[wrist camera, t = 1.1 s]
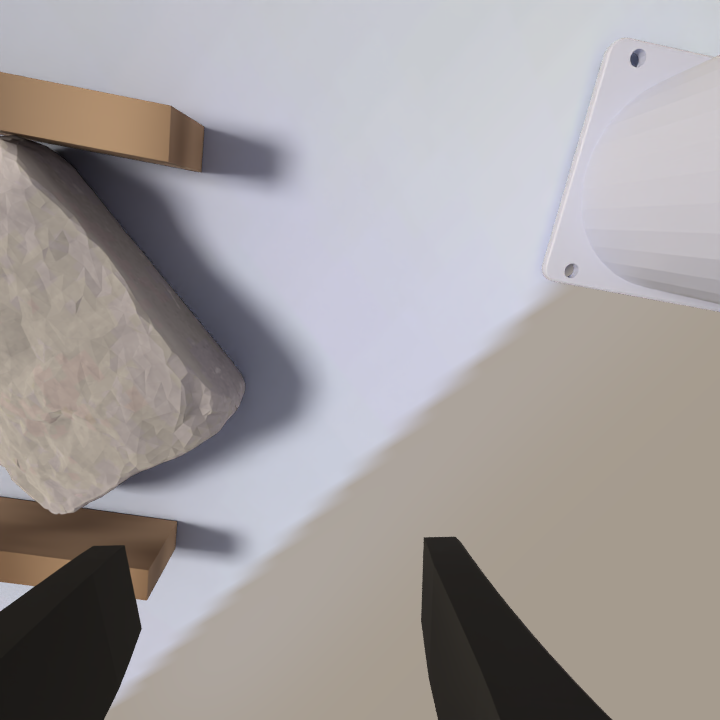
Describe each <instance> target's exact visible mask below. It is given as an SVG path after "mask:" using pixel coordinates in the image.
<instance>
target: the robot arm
mask: <svg viewBox="0 0 720 720" xmlns="http://www.w3.org/2000/svg"><path fill="white" fill-rule="evenodd" d="M632 53H635V54H636V55H637V56H638V58H639V64H638V66H637V67H634V66H632V64H631V62H630V56H631V54H632ZM569 264H572V265H573V267H574V270H573V273H572V274H571V275H570V276H567V277H566V275H565V268H566V266H568V265H569ZM542 273H543V276H544V277H545V278H546V279H548V280H551V281H554V282H559V283H565V284H570V285H576V286H582V287H587V288H592V289H598V290H603V291H608V292H614V293H619V294H625V295H630V296H636V297H641V298H647V299H652V300H658V301H663V302H668V303H674V304H679V305H685V306H690V307H696V308H701V309H707V310H712V311H717V312H720V55H719V56H716V57H712V56H707V55H703V54H698V53H694V52H689V51H685V50H681V49H676V48H672V47H667V46H663V45H658V44H654V43H649V42H645V41H640V40H636V39H631V38H621V39H619V40H617V41H615V42H614V43H612V44H611V45H610V46H609V47H608V48H607V49H606V51H605V54H604V56H603V59H602V63H601V66H600V70H599V73H598V76H597V80H596V83H595V87H594V90H593V93H592V97H591V100H590V104H589V107H588V110H587V114H586V117H585V121H584V124H583V128H582V131H581V134H580V138H579V141H578V145H577V148H576V151H575V155H574V158H573V162H572V165H571V169H570V172H569V175H568V179H567V182H566V186H565V189H564V192H563V196H562V199H561V203H560V206H559V209H558V213H557V216H556V220H555V223H554V227H553V230H552V233H551V237H550V240H549V244H548V247H547V250H546V254H545V257H544V261H543V264H542ZM421 622H422V630H423V638H424V646H425V653H426V660H427V668H428V675H429V681H430V685H431V690H432V694H433V699H434V703H435V708H436V712H437V716H438V720H612V719H611V718H610V717H609V716H608V715H607V714H606V713H605V712H604V711H603V710H602V709H601V708H600V707H599V706H598V705H597V704H596V703H595V702H594V701H593V700H592V699H591V698H590V697H589V696H588V695H587V694H586V693H585V692H584V690H583V689H582V688H581V687H580V686H579V685H578V684H577V683H576V682H575V681H574V680H573V679H572V678H571V677H570V676H569V675H568V673H567V672H566V671H565V670H564V669H563V668H562V667H561V666H560V665H559V664H558V663H557V661H556V660H555V659H554V658H553V657H552V656H551V655H550V654H549V653H548V651H547V650H546V649H545V648H544V647H543V646H542V645H541V644H540V642H539V641H538V640H537V639H536V638H535V637H534V636H533V634H532V633H531V632H530V631H529V630H528V628H527V627H526V626H525V625H524V624H523V622H522V621H521V620H520V619H519V618H518V616H517V615H516V614H515V613H514V612H513V610H512V609H511V608H510V607H509V606H508V604H507V603H506V602H505V601H504V599H503V598H502V597H501V596H500V594H499V593H498V592H497V591H496V589H495V588H494V587H493V585H492V584H491V583H490V582H489V580H488V579H487V578H486V576H485V575H484V574H483V572H482V571H481V570H480V568H479V567H478V566H477V564H476V563H475V561H474V560H473V559H472V557H471V556H470V555H469V553H468V552H467V550H466V549H465V548H464V546H463V545H462V543H461V542H460V541H459V540H458V539H457V538H456V537H428V538H424V551H423V582H422V613H421ZM141 629H142V628H141V623H140V618H139V613H138V608H137V603H136V598H135V593H134V589H133V584H132V579H131V574H130V569H129V564H128V559H127V554H126V549H125V545H109V546H92V547H91V548H89V549H87V550H86V551H84V552H83V553H81V554H80V555H78V556H77V557H75V558H74V559H73V560H71V561H70V562H68V563H67V564H65V565H64V566H63V567H61V568H60V569H58V570H57V571H56V572H54V573H53V574H51V575H50V576H49V577H47V578H46V579H45V580H43V581H42V582H40V583H39V584H38V585H36V586H35V587H33V588H32V589H31V590H29V591H28V592H27V593H25V594H24V595H22V596H21V597H20V598H18V599H17V600H16V601H14V602H13V603H11V604H10V605H9V606H7V607H6V608H4V609H3V610H2V611H0V720H104V718H105V716H106V714H107V712H108V710H109V708H110V706H111V704H112V702H113V700H114V698H115V696H116V694H117V692H118V690H119V687H120V685H121V682H122V680H123V677H124V675H125V672H126V670H127V667H128V664H129V662H130V659H131V656H132V654H133V651H134V648H135V645H136V643H137V640H138V637H139V634H140V632H141Z"/></svg>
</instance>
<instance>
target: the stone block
mask: <svg viewBox="0 0 720 720" xmlns="http://www.w3.org/2000/svg"><path fill="white" fill-rule="evenodd" d="M244 392H245V382H244V379H243V377H242V375H241V373H240V372H239V370H238V369H237V368H236V367H235V365H234V364H233V362H232V361H231V360H230V358H229V357H228V356H227V355H226V354H225V352H224V351H223V350H222V349H221V348H220V346H219V345H218V344H217V343H216V341H215V340H214V339H213V338H212V337H211V335H210V334H209V333H208V332H207V331H206V330H205V328H204V327H203V326H202V325H201V323H200V322H199V321H198V320H197V319H196V317H195V316H194V315H193V314H192V312H191V311H190V310H189V309H188V308H187V306H186V305H185V304H184V303H183V301H182V300H181V299H180V298H179V296H178V295H177V294H176V293H175V292H174V290H173V289H172V288H171V287H170V285H169V284H168V283H167V282H166V281H165V280H164V279H163V277H162V276H161V275H160V274H159V272H158V271H157V270H156V269H155V267H154V266H153V265H152V264H151V262H150V261H149V260H148V258H147V257H146V256H145V255H144V253H143V252H142V251H141V250H140V249H139V247H138V246H137V245H136V244H135V243H134V241H133V240H132V239H131V238H130V237H129V236H128V235H127V234H126V233H125V232H124V230H123V229H122V227H121V226H120V224H119V223H118V222H117V220H116V219H115V218H114V217H113V216H112V214H111V213H110V212H109V211H108V209H107V208H106V207H105V206H104V204H103V203H102V202H101V200H100V199H99V198H98V197H97V196H96V194H95V193H94V192H93V190H92V189H91V188H90V187H89V186H88V185H87V184H86V182H85V181H84V180H83V179H82V177H81V176H80V175H79V173H78V172H77V171H76V170H75V169H74V168H73V167H72V166H71V165H70V164H69V163H68V162H67V161H66V160H64V159H63V158H62V157H61V156H59V155H58V154H56V153H55V152H54V151H53V150H51V149H50V148H49V147H47V146H44V145H42V144H39V143H36V142H34V141H31V140H28V139H25V138H22V137H19V136H15V135H9V136H0V465H1V466H3V467H5V468H6V470H7V471H8V473H9V474H10V476H11V479H12V480H13V481H14V482H15V483H16V484H17V485H18V486H19V487H20V488H21V489H22V490H24V491H25V492H26V493H27V494H28V495H29V496H30V497H31V498H33V499H34V500H35V501H37V502H38V503H39V504H41V506H42V507H43V508H45V509H48V510H49V511H50V512H51V513H53V514H58V513H60V514H66V513H73V512H76V511H77V510H79V509H80V508H82V507H84V506H85V505H87V504H88V503H90V502H92V501H95V500H97V499H99V498H101V497H103V496H104V495H105V494H107V493H109V492H110V491H111V490H113V489H114V488H116V487H117V486H118V485H119V484H120V483H122V482H124V481H125V480H127V479H128V478H130V477H131V476H133V475H135V474H138V473H139V472H141V471H144V470H147V469H150V468H152V467H154V466H156V465H159V464H161V463H163V462H166V461H169V460H172V459H175V458H177V457H179V456H182V455H183V454H185V453H187V452H188V451H190V450H192V449H194V448H196V447H197V446H198V445H200V444H201V443H203V442H204V441H206V440H207V439H209V438H211V437H212V436H214V435H215V434H217V433H218V432H219V431H220V430H221V428H222V427H223V426H224V424H225V423H226V421H227V420H228V419H229V418H230V417H231V416H232V415H233V414H234V413H235V411H236V410H237V408H238V407H239V405H240V403H241V399H242V397H243V395H244Z"/></svg>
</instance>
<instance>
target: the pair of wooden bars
mask: <svg viewBox="0 0 720 720" xmlns="http://www.w3.org/2000/svg"><path fill="white" fill-rule="evenodd" d="M0 134H2V135H7V136H9V135H15V136H19V137H22V138H25V139H28V140H33V141H38V142H44V143H49V144H54V145H60V146H65V147H70V148H75V149H81V150H86V151H91V152H96V153H102V154H107V155H112V156H118V157H123V158H128V159H133V160H139V161H144V162H149V163H154V164H160V165H165V166H170V167H175V168H181V169H186V170H191V171H197V172H201V168H202V154H203V139H204V126H202V125H201V124H199V123H197V122H196V121H194V120H193V119H191V118H190V117H188V116H186V115H185V114H183V113H182V112H180V111H178V110H177V109H175V108H174V107H172V106H169V105H164V104H159V103H154V102H149V101H144V100H139V99H134V98H129V97H124V96H119V95H114V94H109V93H104V92H99V91H94V90H89V89H83V88H78V87H73V86H68V85H63V84H58V83H53V82H48V81H43V80H38V79H33V78H28V77H23V76H18V75H13V74H8V73H3V72H0ZM176 531H177V521H171V520H163V519H156V518H149V517H142V516H135V515H127V514H120V513H113V512H106V511H99V510H91V509H84V508H80V509H79V510H77V511H76V512H73V513H66V514H60V513H58V514H53V513H51V512H50V511H49V510H48V509H45V508H43V507H42V506H41V504H39V503H38V502H34V501H27V500H19V499H12V498H5V497H0V582H6V583H14V584H22V585H30V586H36V585H38V584H39V583H40V582H42V581H43V580H45V579H46V578H47V577H49V576H50V575H51V574H53V573H54V572H56V571H57V570H58V569H60V568H61V567H63V566H64V565H65V564H67V563H68V562H70V561H71V560H73V559H74V558H75V557H77V556H78V555H80V554H81V553H83V552H84V551H86V550H87V549H89V548H91V547H92V546H109V545H125V549H126V554H127V559H128V564H129V569H130V574H131V579H132V584H133V589H134V593H135V598H136V599H140V600H147V599H148V598H149V596H150V594H151V592H152V590H153V588H154V587H155V585H156V583H157V581H158V579H159V577H160V576H161V574H162V572H163V570H164V568H165V566H166V564H167V563H168V561H169V559H170V557H171V555H172V553H173V552H174V550H175V545H176Z"/></svg>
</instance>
